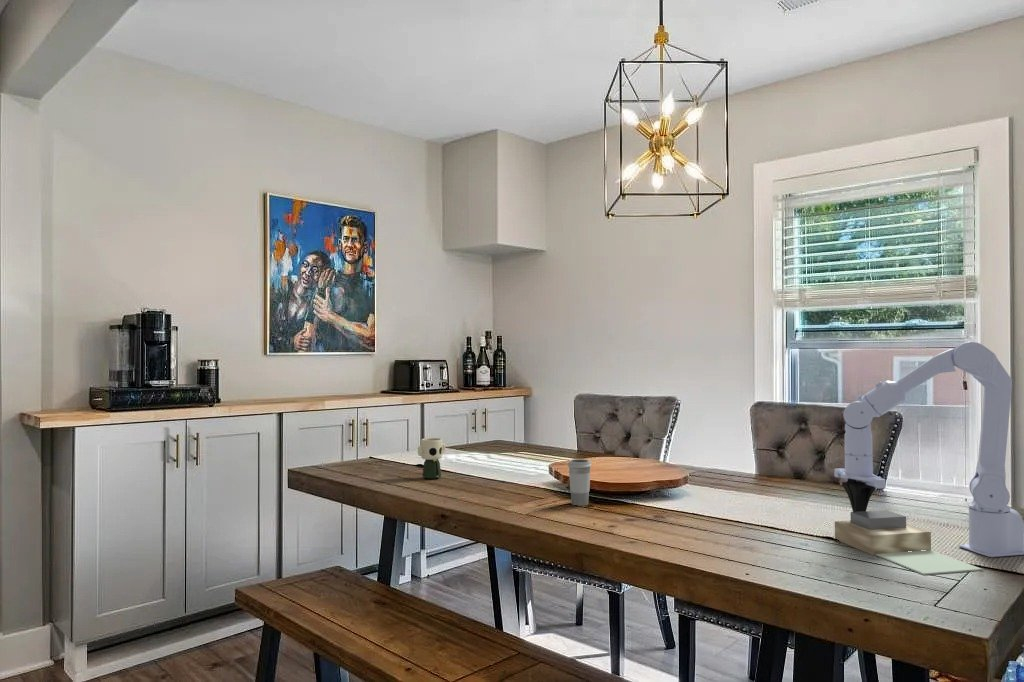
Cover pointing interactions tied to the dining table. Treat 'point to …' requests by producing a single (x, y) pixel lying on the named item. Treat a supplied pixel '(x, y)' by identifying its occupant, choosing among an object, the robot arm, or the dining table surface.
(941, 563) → the mat
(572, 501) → the cup
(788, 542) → the dining table surface
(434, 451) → the character mug
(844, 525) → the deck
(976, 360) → the robot arm
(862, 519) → the slate tile
